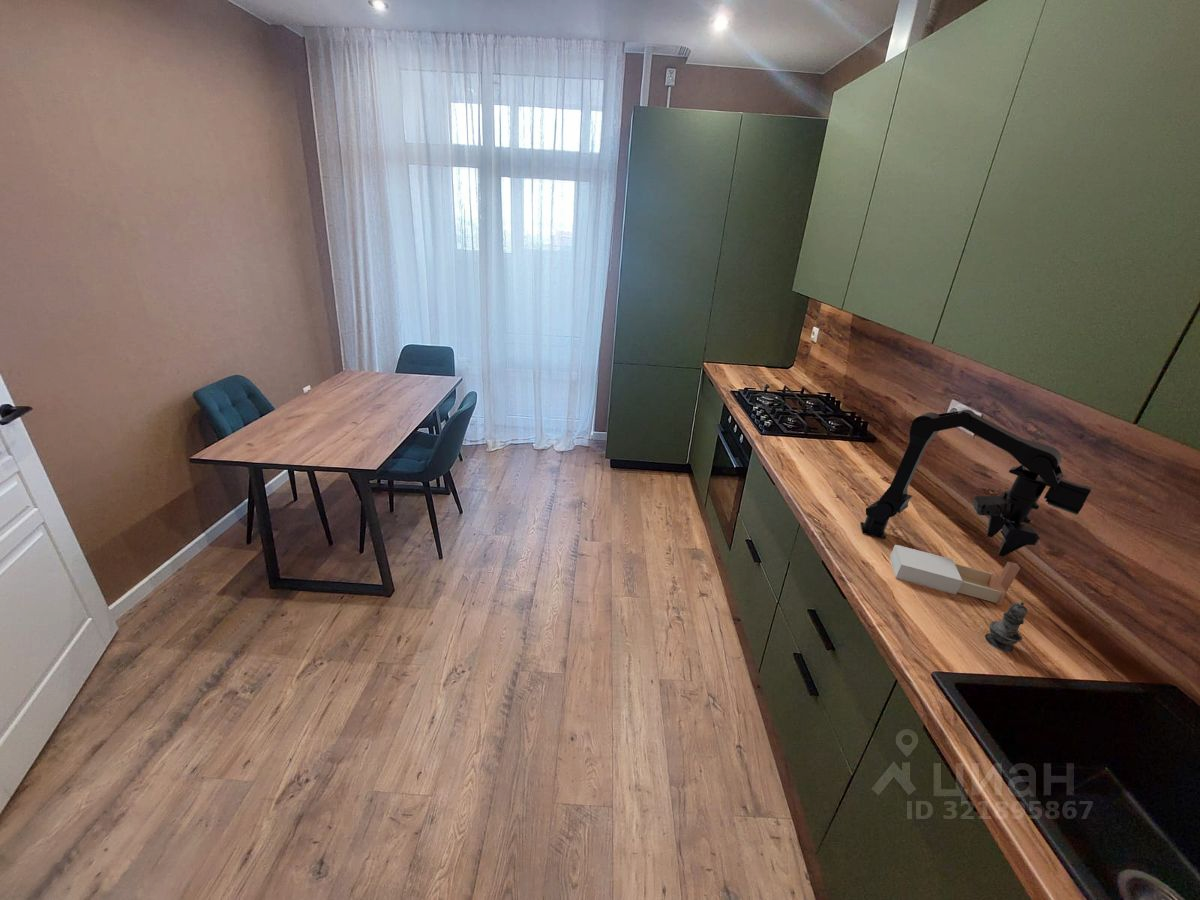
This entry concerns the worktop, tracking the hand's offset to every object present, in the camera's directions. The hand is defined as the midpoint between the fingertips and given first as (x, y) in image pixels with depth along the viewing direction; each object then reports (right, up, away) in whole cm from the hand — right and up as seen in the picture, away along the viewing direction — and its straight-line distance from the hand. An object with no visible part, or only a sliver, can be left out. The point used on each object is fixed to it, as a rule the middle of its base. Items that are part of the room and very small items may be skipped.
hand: (994, 545), depth 125 cm
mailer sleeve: (-16, -9, +5) cm, 19 cm away
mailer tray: (-6, -11, +1) cm, 13 cm away
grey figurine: (-12, -19, -16) cm, 28 cm away
